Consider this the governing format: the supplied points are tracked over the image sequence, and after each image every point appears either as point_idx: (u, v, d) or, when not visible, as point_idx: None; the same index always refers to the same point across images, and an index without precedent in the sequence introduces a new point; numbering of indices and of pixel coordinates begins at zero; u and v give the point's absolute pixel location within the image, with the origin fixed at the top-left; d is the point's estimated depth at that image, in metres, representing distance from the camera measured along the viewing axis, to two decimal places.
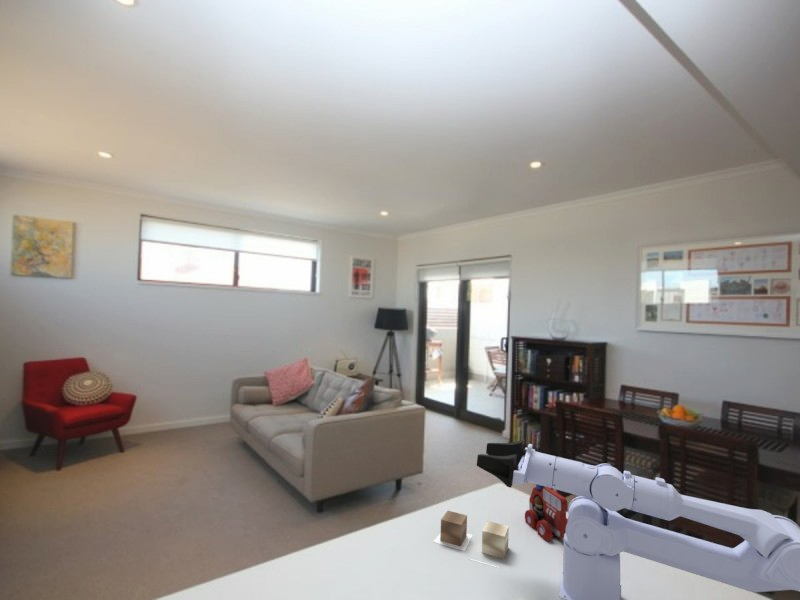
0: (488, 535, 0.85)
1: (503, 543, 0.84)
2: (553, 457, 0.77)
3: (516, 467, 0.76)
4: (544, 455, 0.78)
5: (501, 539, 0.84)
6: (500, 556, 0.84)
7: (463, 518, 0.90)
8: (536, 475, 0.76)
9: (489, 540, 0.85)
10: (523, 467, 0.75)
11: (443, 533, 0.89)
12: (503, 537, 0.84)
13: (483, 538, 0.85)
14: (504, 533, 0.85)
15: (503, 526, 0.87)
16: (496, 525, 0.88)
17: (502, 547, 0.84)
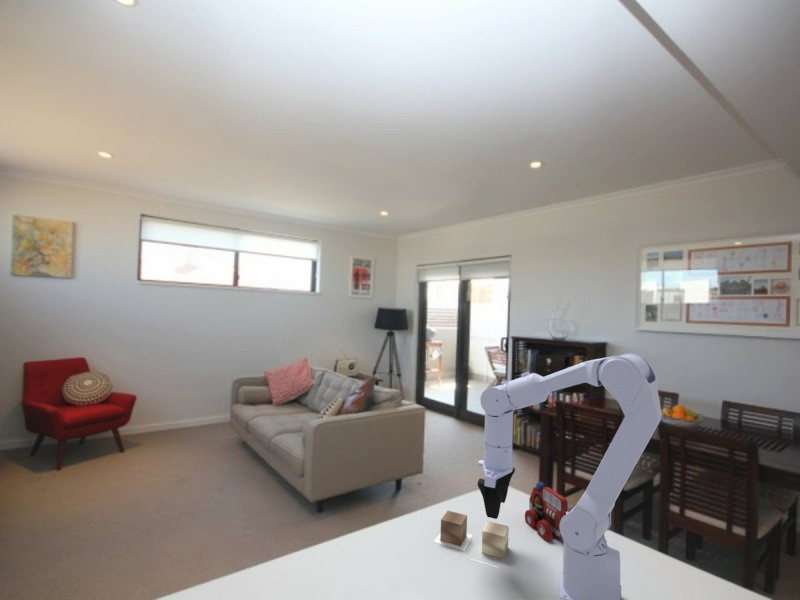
0: (488, 535, 0.85)
1: (503, 543, 0.84)
2: (484, 443, 0.88)
3: None
4: None
5: (501, 539, 0.84)
6: (500, 556, 0.84)
7: (463, 518, 0.90)
8: (496, 461, 0.84)
9: (489, 540, 0.85)
10: (485, 474, 0.83)
11: (443, 533, 0.89)
12: (503, 537, 0.84)
13: (483, 538, 0.85)
14: (504, 533, 0.85)
15: (503, 526, 0.87)
16: (496, 525, 0.88)
17: (502, 547, 0.84)
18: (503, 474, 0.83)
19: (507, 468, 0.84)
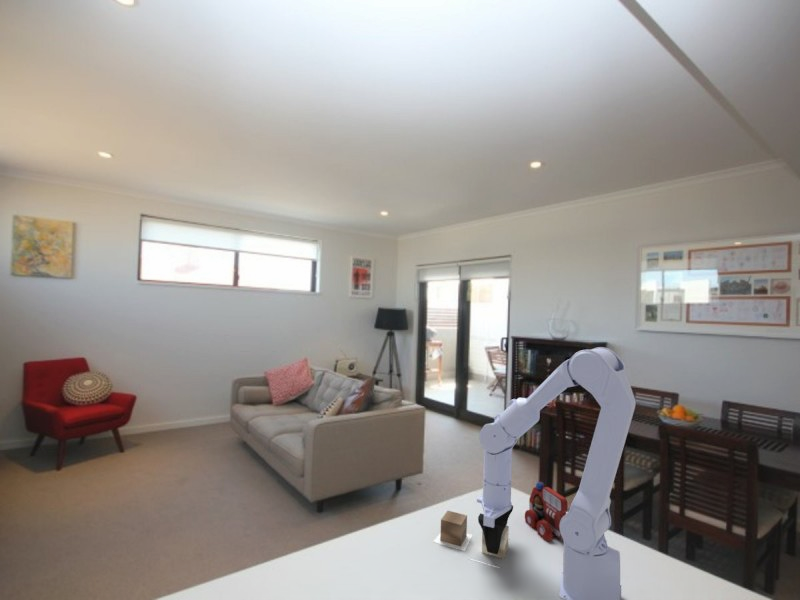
0: None
1: (503, 543, 0.84)
2: (483, 479, 0.87)
3: None
4: None
5: (501, 539, 0.84)
6: (500, 556, 0.84)
7: (463, 518, 0.90)
8: (495, 499, 0.84)
9: None
10: (484, 513, 0.82)
11: (443, 533, 0.89)
12: (503, 537, 0.84)
13: (483, 538, 0.85)
14: (504, 533, 0.85)
15: None
16: None
17: (502, 547, 0.84)
18: (502, 512, 0.82)
19: (506, 506, 0.84)
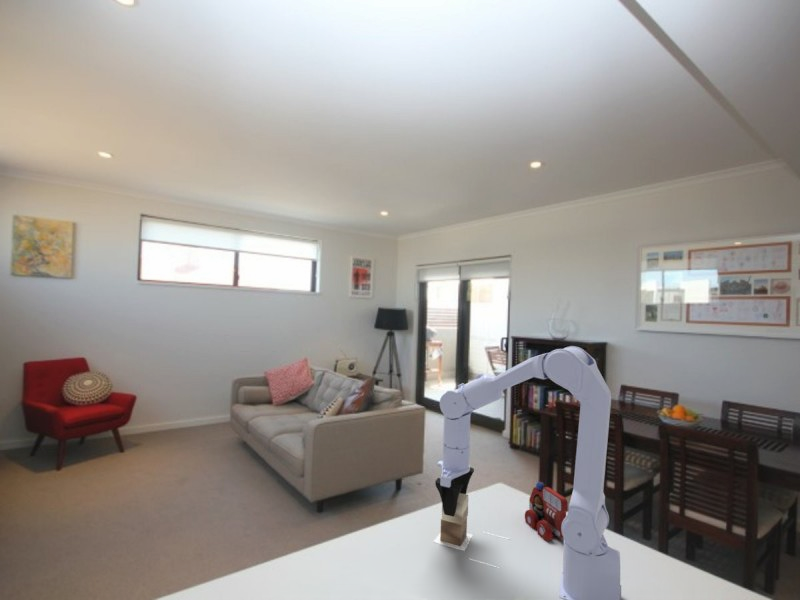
0: None
1: (461, 510, 0.87)
2: None
3: None
4: None
5: (459, 506, 0.88)
6: (458, 522, 0.87)
7: None
8: (453, 462, 0.88)
9: None
10: (442, 474, 0.86)
11: (443, 533, 0.89)
12: (461, 504, 0.87)
13: None
14: (463, 500, 0.88)
15: (463, 495, 0.91)
16: None
17: (460, 513, 0.87)
18: (459, 474, 0.86)
19: (464, 468, 0.88)
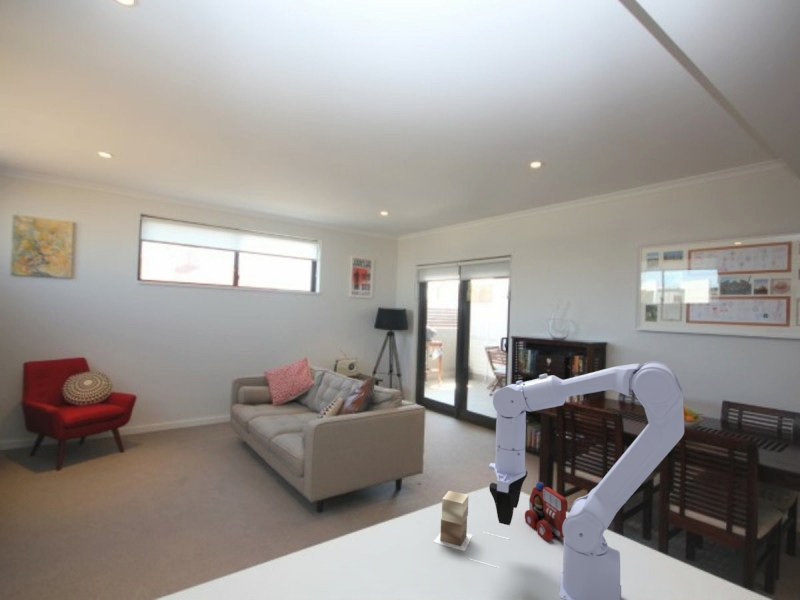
0: (447, 502, 0.89)
1: (461, 510, 0.87)
2: None
3: None
4: (495, 453, 0.84)
5: (459, 506, 0.88)
6: (458, 522, 0.87)
7: None
8: (509, 464, 0.80)
9: (449, 507, 0.88)
10: (497, 478, 0.79)
11: (443, 533, 0.89)
12: (461, 504, 0.87)
13: (443, 505, 0.89)
14: (463, 500, 0.88)
15: (463, 495, 0.91)
16: (456, 494, 0.92)
17: (460, 513, 0.87)
18: (516, 478, 0.79)
19: (520, 472, 0.80)
